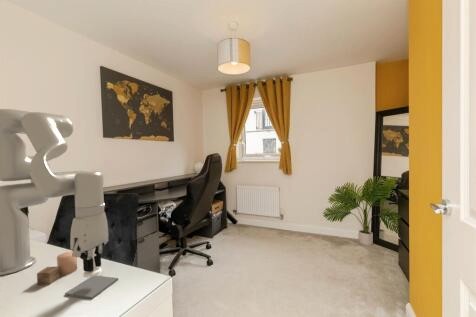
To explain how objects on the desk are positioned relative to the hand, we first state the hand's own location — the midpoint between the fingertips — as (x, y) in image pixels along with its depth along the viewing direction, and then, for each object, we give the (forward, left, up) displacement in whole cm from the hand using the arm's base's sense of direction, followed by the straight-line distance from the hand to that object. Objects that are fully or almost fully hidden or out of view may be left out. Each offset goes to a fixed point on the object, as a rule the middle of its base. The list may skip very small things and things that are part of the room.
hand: (92, 268), depth 70 cm
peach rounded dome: (-18, +7, -6) cm, 20 cm away
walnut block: (-18, 0, -6) cm, 19 cm away
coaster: (0, 0, -6) cm, 6 cm away
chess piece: (0, 0, -2) cm, 2 cm away
